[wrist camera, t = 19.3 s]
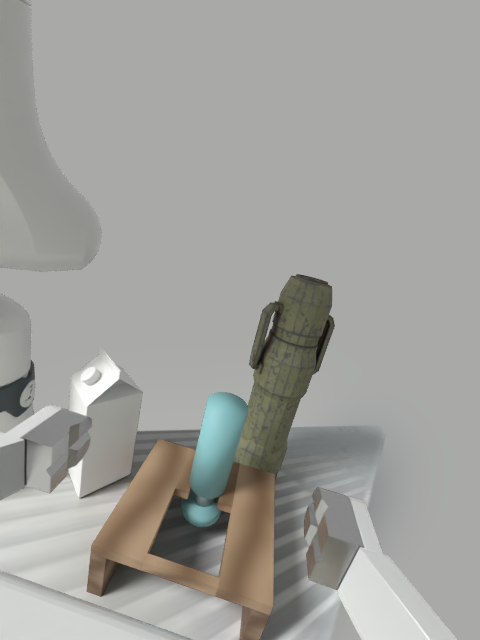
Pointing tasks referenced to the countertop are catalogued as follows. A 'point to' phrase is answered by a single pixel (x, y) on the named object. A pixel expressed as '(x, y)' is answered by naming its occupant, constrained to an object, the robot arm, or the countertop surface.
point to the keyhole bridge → (240, 544)
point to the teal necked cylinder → (214, 457)
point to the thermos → (284, 368)
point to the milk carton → (105, 422)
